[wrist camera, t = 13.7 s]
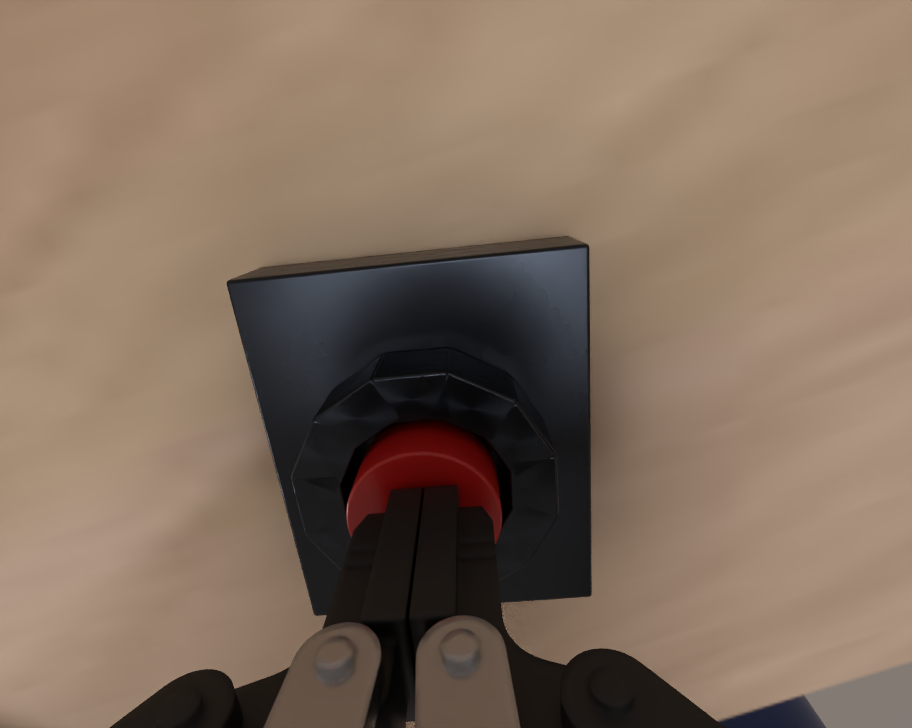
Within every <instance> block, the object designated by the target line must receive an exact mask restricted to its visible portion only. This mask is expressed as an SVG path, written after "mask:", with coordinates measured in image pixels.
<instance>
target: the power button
mask: <svg viewBox="0 0 912 728" xmlns="http://www.w3.org/2000/svg"><path fill="white" fill-rule="evenodd" d="M456 484H457V485H458V492H459V501H460V507H471V506H482V507H483V508H484V509H485V511H486V512H487V513H488V515H489V516H490V517H491V519H492V520H493V526H494V537H495V544H496V542H497V540H498V538H499V535H500V532H501V527H502V507H501V499H500V492H499V484H498V476H497V470H496V465H495V462H494V459H493V457H492V455H491V453H490V451H489V450H488V448H487V447H486V445H485V444H484V443H483V442H482V441H481V440H480V439H479V438H478V437H477V436H476V435H475V434H473V433H471V432H468V431H466V430H463V429H461V428H458V427H456V426H453V425H451V424H448V423H446V422H444V421H441V420H433V421H421V422H410V423H399V424H397V425H394V426H392V427H390V428H389V429H387V430H385V431H384V432H383V433H381V434H380V435H379V436H378V437H377V438H376V439H375V440H374V441H373V442H372V443H371V445H370V446H369V447H368V449H367V451H366V453H365V454H364V457H363V459H362V462H361V465H360V468H359V470H358V473H357V476H356V479H355V481H354V484H353V487H352V490H351V492H350V495H349V498H348V502H347V507H346V520H347V526H348V529H349V533H350V536H351V538H352V535H353V532H354V530H355V528H356V527H357V526H358V525H359V524H360V523H361V522H362V520H363V519H364V518H365V517H366V516H367V515H368V514H373V513H385V511H386V506H387V502H388V498H389V494H390V491H391V489H402V488H416V487H424V490H425V487H428V486H442V485H456Z"/></svg>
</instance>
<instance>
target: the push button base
mask: <svg viewBox="0 0 912 728" xmlns="http://www.w3.org/2000/svg"><path fill="white" fill-rule="evenodd" d="M227 287H228V291H229V295H230V299H231V302H232V306H233V310H234V314H235V317H236V321H237V325H238V329H239V333H240V336H241V340H242V344H243V348H244V351H245V355H246V359H247V363H248V367H249V370H250V374H251V378H252V382H253V385H254V389H255V393H256V397H257V400H258V404H259V408H260V412H261V416H262V419H263V423H264V427H265V431H266V434H267V438H268V442H269V446H270V450H271V453H272V457H273V461H274V465H275V468H276V472H277V476H278V480H279V483H280V487H281V491H282V495H283V499H284V502H285V506H286V510H287V514H288V517H289V521H290V525H291V529H292V533H293V536H294V540H295V544H296V548H297V551H298V555H299V559H300V563H301V566H302V570H303V574H304V578H305V582H306V585H307V589H308V593H309V597H310V600H311V604H312V608H313V612H314V615H316V616H320V615H327V614H328V610H329V607H330V604H331V601H332V598H333V595H334V592H335V588H336V585H337V582H338V579H339V576H340V573H341V569H342V568H343V563H344V560H345V557H346V554H347V552H348V547H349V544H350V541H351V536H350V533H349V529H348V526H347V520H346V507H347V502H348V498H349V495H350V492H351V490H352V487H353V484H354V481H355V479H356V476H357V473H358V470H359V468H360V465H361V462H362V459H363V457H364V454H365V453H366V451H367V449H368V447H369V446H370V445H371V443H372V442H373V441H374V440H375V439H376V438H377V437H378V436H379V435H380V434H381V433H383V432H384V431H385V430H387V429H389V428H390V427H392V426H394V425H397V424H399V423H410V422H421V421H433V420H441V421H444V422H446V423H448V424H451V425H453V426H456V427H458V428H461V429H463V430H466V431H468V432H471V433H473V434H475V435H476V436H477V437H478V438H479V439H480V440H481V441H482V442H483V443H484V444H485V445H486V447H487V448H488V450H489V451H490V453H491V455H492V457H493V459H494V462H495V465H496V470H497V476H498V484H499V492H500V499H501V507H502V527H501V532H500V535H499V538H498V540H497V542H496V544H495V547H496V558H497V567H498V578H499V588H500V598H501V603H505V602H520V601H534V600H548V599H562V598H577V597H589V596H591V594H592V576H591V425H590V273H589V245H588V244H586V243H583V242H581V241H578V240H576V239H574V238H571V237H569V236H565V237H555V238H546V239H536V240H526V241H516V242H507V243H497V244H487V245H477V246H468V247H458V248H448V249H438V250H429V251H419V252H409V253H399V254H390V255H380V256H370V257H361V258H351V259H341V260H331V261H322V262H312V263H302V264H292V265H283V266H273V267H263V268H259V269H257V270H254V271H251V272H249V273H246V274H244V275H241V276H238V277H236V278H233V279H231V280H229V281H227Z"/></svg>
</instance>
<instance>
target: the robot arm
mask: <svg viewBox="0 0 912 728" xmlns="http://www.w3.org/2000/svg"><path fill="white" fill-rule="evenodd" d="M410 721H415V728H725V727H724V726H722V725H721V724H720V723H719V722H717V721H716V720H715V719H713V718H712V717H711V716H709V715H708V714H707V713H706V712H704V711H703V710H702V709H700V708H699V707H698V706H696V705H695V704H694V703H693V702H691V701H690V700H689V699H687V698H686V697H685V696H683V695H682V694H681V693H680V692H678V691H677V690H676V689H674V688H673V687H672V686H670V685H669V684H668V683H667V682H665V681H664V680H663V679H661V678H660V677H659V676H657V675H656V674H655V673H654V672H652V671H651V670H650V669H648V668H647V667H646V666H644V665H643V664H642V663H640V662H639V661H637V660H636V659H635V658H633V657H631V656H629V655H627V654H625V653H622V652H619V651H616V650H611V649H591V650H588V651H584V652H582V653H580V654H578V655H576V656H575V657H574V658H572V659H571V660H570V662H569V663H568V664H567V665H563V664H559V663H555V662H551V661H547V660H544V659H541V658H538V657H535V656H533V655H531V654H529V653H527V652H526V651H524V650H523V649H521V648H520V647H519V646H518V645H517V644H516V643H515V642H514V641H513V640H512V639H511V637H510V636H509V634H508V633H507V631H506V629H505V626H504V623H503V618H502V608H501V598H500V588H499V578H498V567H497V558H496V547H495V537H494V526H493V520H492V519H491V517H490V516H489V515H488V513H487V512H486V511H485V509H484V508H483V507H482V506H471V507H460V501H459V492H458V485H457V484H456V485H442V486H428V487H425V490H424V487H416V488H402V489H391V491H390V494H389V498H388V502H387V506H386V511H385V513H373V514H368V515H367V516H366V517H365V518H364V519H363V520H362V522H361V523H360V524H359V525H358V526H357V527H356V528H355V530H354V532H353V535H352V538H351V541H350V544H349V547H348V552H347V554H346V557H345V560H344V563H343V568H342V569H341V573H340V576H339V579H338V582H337V585H336V588H335V592H334V595H333V598H332V601H331V604H330V607H329V610H328V614H327V617H326V620H325V623H324V626H323V629H322V630H320V631H319V632H317V633H316V634H314V635H313V636H312V637H310V638H309V639H308V640H307V641H306V642H305V643H304V644H303V645H302V646H301V648H300V649H299V650H298V652H297V653H296V655H295V657H294V659H293V661H292V664H291V666H290V667H289V668H287V669H285V670H283V671H282V672H279V673H277V674H275V675H272V676H270V677H267V678H264V679H261V680H259V681H256V682H253V683H250V684H247V685H245V686H242V687H239V688H236V689H234V686H233V683H232V681H231V679H230V678H229V677H228V676H227V675H226V674H225V673H223V672H221V671H218V670H213V669H205V670H199V671H194V672H191V673H188V674H186V675H183V676H181V677H179V678H177V679H175V680H174V681H172V682H170V683H169V684H167V685H166V686H164V687H163V688H162V689H160V690H159V691H158V692H156V693H155V694H154V695H152V696H151V697H150V698H148V699H147V700H146V701H144V702H143V703H142V704H140V705H139V706H138V707H136V708H135V709H134V710H132V711H131V712H130V713H128V714H127V715H126V716H124V717H123V718H122V719H120V720H119V721H118V722H116V723H115V724H114V725H113V726H111V727H110V728H405V726H406V722H410Z"/></svg>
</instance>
